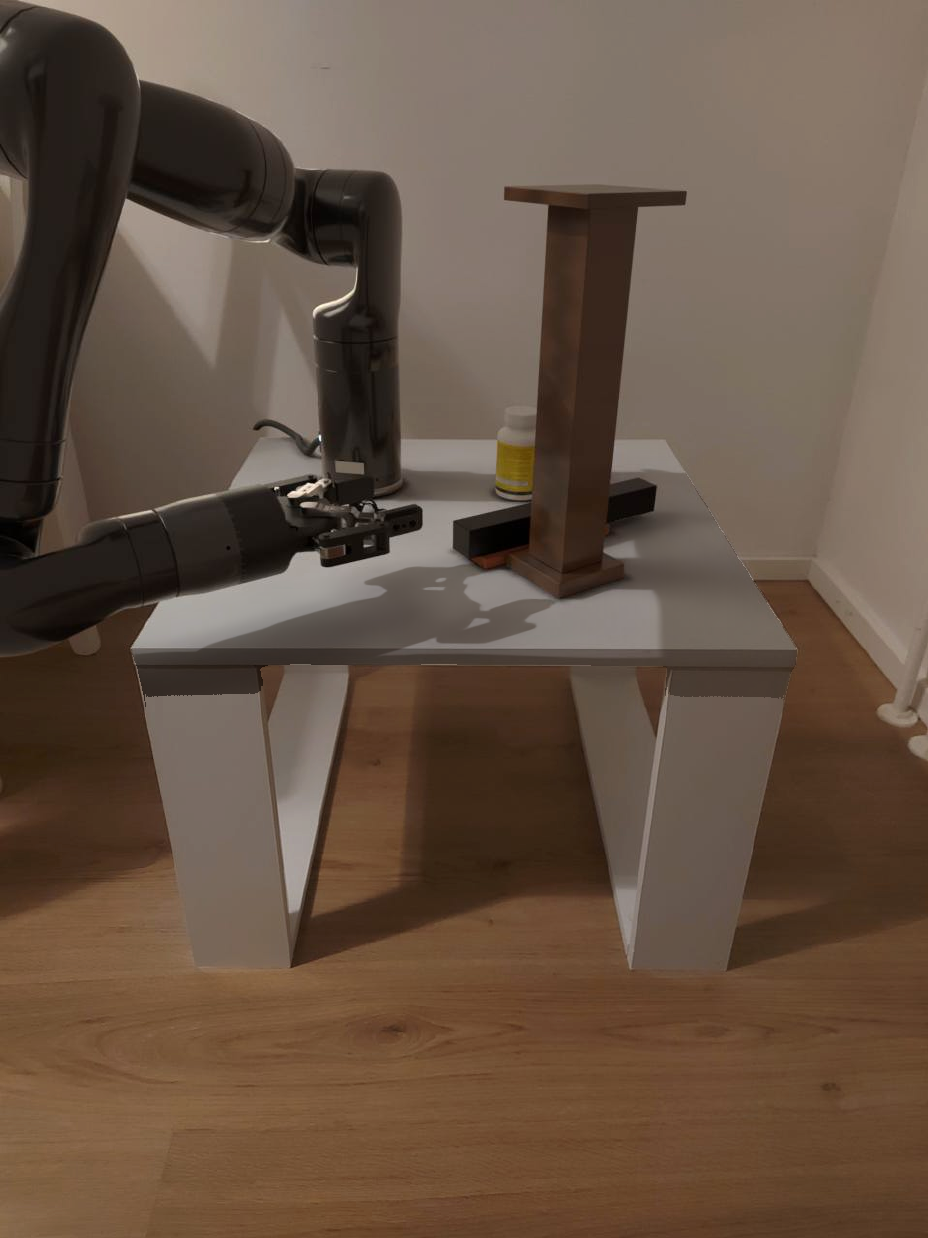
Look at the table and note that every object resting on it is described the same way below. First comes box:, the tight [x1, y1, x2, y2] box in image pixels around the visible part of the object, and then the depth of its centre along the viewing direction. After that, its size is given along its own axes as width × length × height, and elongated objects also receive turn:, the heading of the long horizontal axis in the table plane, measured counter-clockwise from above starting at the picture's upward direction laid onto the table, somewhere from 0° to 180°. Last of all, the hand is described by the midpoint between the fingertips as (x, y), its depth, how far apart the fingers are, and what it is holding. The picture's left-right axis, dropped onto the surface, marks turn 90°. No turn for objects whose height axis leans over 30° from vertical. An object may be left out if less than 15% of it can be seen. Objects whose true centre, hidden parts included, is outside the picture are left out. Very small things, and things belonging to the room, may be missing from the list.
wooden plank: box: [470, 523, 611, 570], centre depth 89 cm, size 5×16×1 cm, turn 124°
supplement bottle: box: [494, 405, 537, 501], centre depth 99 cm, size 5×5×10 cm
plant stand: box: [503, 183, 688, 599], centre depth 75 cm, size 10×10×33 cm
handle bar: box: [452, 477, 658, 560], centre depth 89 cm, size 3×24×3 cm
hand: (395, 500), depth 77 cm, fingers open, 8 cm apart
